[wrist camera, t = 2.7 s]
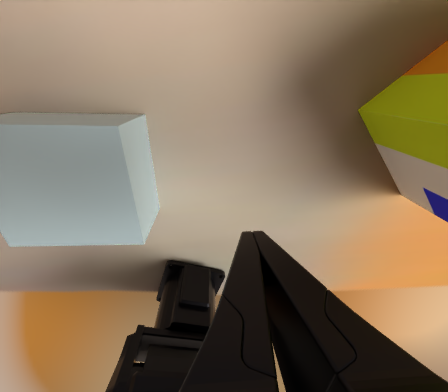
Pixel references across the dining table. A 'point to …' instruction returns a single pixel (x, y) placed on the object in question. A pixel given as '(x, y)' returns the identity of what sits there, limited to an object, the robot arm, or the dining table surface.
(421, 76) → the puzzle toy
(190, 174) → the dining table surface
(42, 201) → the block
